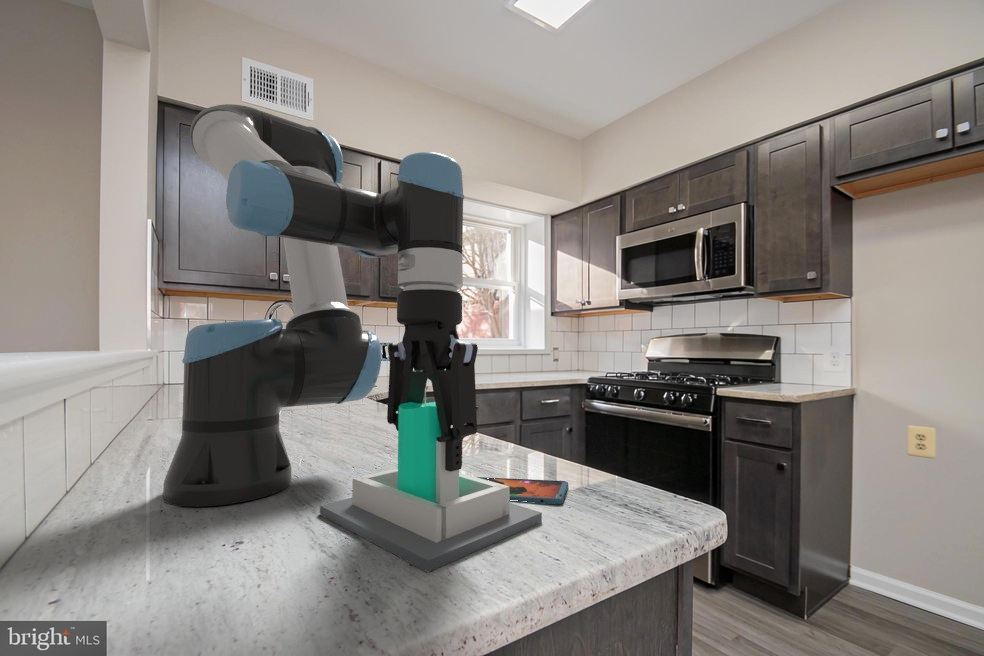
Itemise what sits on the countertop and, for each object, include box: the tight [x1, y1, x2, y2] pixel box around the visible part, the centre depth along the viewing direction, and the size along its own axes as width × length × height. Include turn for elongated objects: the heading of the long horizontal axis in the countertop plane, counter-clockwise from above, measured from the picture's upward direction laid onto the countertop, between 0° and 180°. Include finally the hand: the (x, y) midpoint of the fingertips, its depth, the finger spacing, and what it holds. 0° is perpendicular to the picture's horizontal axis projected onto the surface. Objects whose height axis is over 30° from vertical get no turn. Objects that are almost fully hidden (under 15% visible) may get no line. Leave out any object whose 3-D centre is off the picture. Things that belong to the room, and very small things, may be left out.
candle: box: [397, 390, 441, 504], centre depth 52 cm, size 6×6×12 cm
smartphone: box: [476, 476, 569, 506], centre depth 62 cm, size 8×1×15 cm
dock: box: [319, 467, 543, 573], centre depth 52 cm, size 20×16×4 cm
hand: (428, 492), depth 52 cm, fingers closed on candle, 6 cm apart
